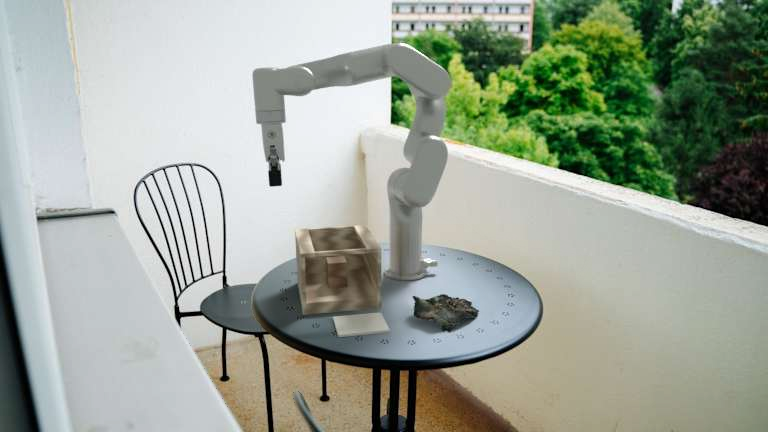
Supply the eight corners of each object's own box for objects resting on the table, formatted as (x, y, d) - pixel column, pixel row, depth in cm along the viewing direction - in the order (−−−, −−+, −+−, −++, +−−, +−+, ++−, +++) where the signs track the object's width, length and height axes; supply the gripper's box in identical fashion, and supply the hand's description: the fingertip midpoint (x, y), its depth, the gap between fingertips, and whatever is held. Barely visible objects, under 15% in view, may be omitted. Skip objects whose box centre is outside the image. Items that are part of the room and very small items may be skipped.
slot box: (366, 277, 169) (365, 224, 165) (381, 307, 148) (381, 248, 144) (297, 283, 165) (295, 229, 161) (303, 314, 145) (300, 253, 140)
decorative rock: (432, 282, 156) (486, 288, 149) (433, 304, 157) (487, 310, 150) (401, 303, 139) (460, 310, 132) (402, 327, 140) (461, 336, 133)
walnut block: (344, 280, 159) (344, 256, 157) (347, 287, 154) (347, 262, 152) (326, 281, 158) (325, 257, 156) (328, 288, 153) (328, 263, 152)
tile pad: (380, 314, 145) (380, 312, 144) (389, 332, 135) (389, 329, 135) (332, 318, 142) (332, 316, 142) (338, 337, 133) (338, 334, 133)
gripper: (286, 119, 142) (290, 188, 146) (284, 113, 158) (289, 175, 162) (254, 121, 140) (260, 190, 145) (256, 114, 157) (261, 176, 161)
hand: (275, 182), depth 154 cm, fingers open, 9 cm apart
